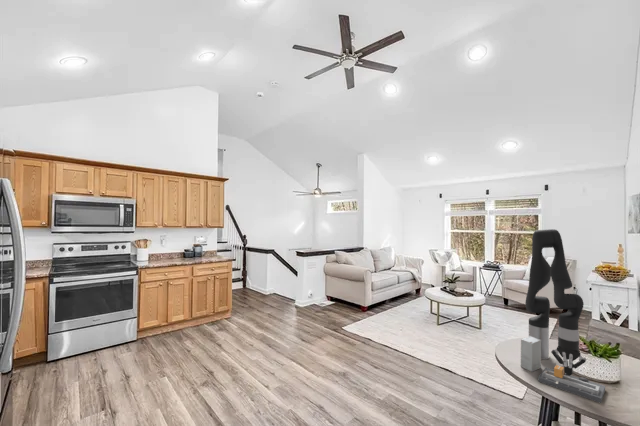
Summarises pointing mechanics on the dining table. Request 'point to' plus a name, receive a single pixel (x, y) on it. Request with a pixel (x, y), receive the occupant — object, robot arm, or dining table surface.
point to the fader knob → (559, 371)
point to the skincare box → (531, 353)
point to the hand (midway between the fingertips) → (568, 374)
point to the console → (573, 385)
